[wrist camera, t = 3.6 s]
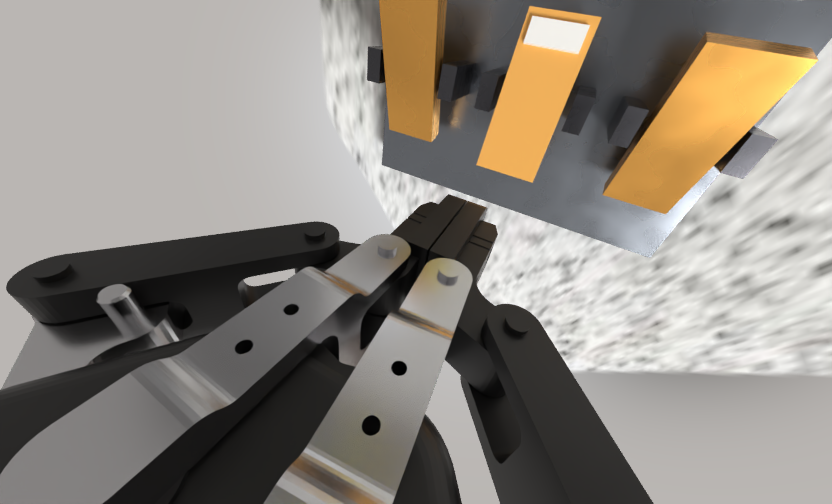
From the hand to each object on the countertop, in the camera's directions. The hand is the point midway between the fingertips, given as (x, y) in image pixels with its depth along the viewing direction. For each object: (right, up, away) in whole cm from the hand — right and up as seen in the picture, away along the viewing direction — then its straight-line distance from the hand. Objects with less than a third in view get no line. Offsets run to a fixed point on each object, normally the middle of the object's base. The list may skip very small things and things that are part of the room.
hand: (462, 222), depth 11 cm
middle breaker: (+4, +6, +3) cm, 8 cm away
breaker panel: (+6, +9, +7) cm, 13 cm away
